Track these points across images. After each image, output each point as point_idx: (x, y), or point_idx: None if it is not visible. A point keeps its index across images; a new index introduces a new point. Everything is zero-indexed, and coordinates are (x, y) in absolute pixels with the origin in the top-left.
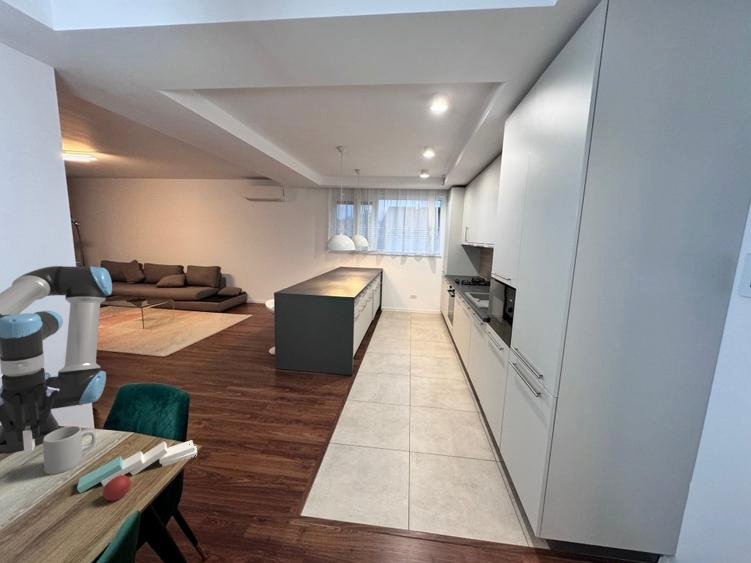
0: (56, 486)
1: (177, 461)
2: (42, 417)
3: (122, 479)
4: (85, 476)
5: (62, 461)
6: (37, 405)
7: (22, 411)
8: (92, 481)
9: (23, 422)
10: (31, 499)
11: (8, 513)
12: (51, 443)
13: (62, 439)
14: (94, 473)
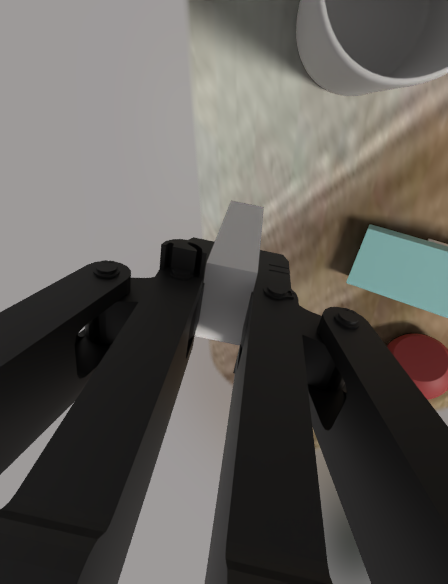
0: (310, 182)
1: None
2: (321, 434)
3: (436, 396)
4: (382, 243)
5: (355, 92)
6: (310, 523)
7: (139, 492)
8: (385, 294)
9: (184, 357)
10: (250, 201)
11: (205, 226)
12: (343, 64)
13: (397, 79)
14: (405, 265)
